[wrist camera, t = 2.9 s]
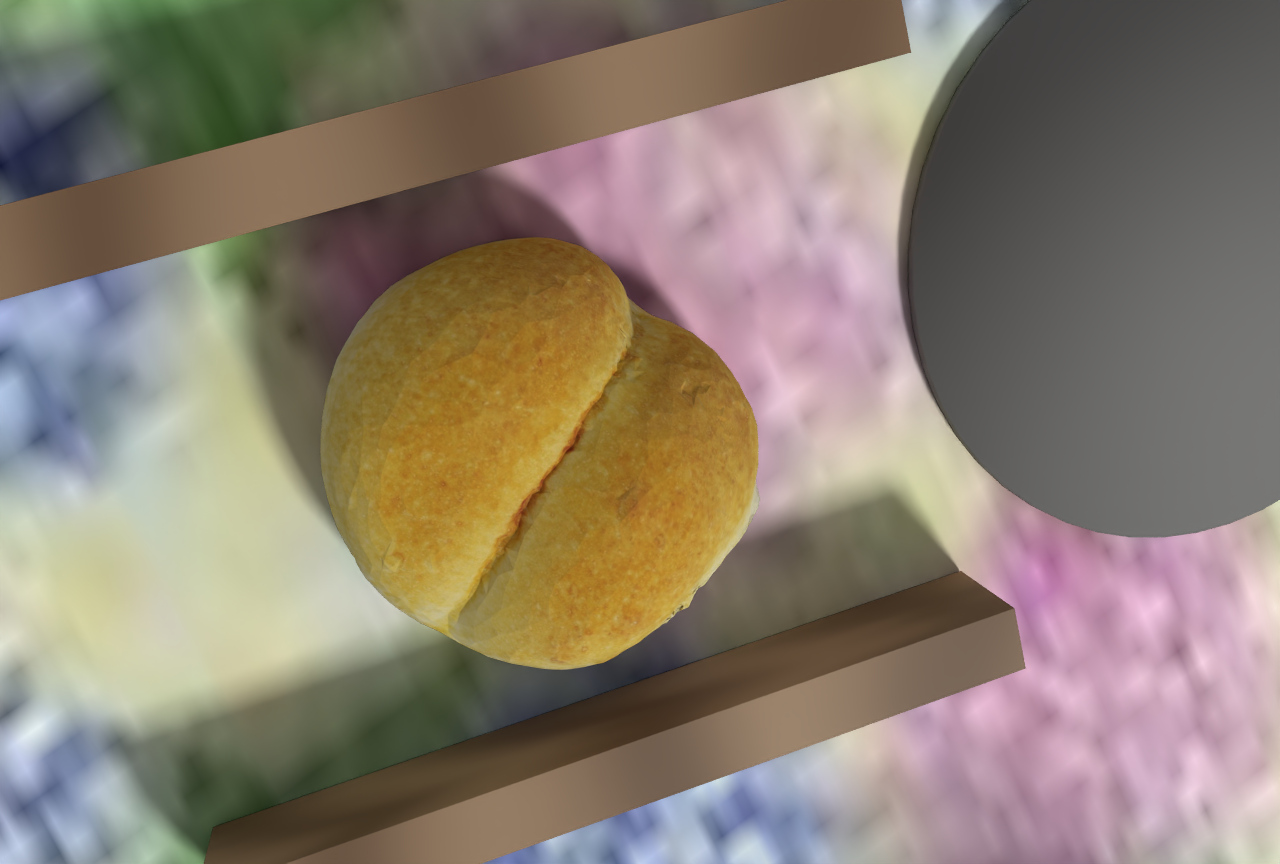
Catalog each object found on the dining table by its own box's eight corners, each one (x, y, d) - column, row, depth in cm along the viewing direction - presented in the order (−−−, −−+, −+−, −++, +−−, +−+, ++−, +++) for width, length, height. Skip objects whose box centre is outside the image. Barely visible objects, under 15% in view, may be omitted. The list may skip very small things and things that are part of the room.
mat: (968, 608, 28) (974, 612, 28) (850, 15, 25) (856, 13, 24) (1458, 437, 30) (1468, 440, 30) (1417, -135, 27) (1428, -139, 26)
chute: (236, 884, 26) (221, 956, 24) (-37, 221, 22) (-88, 228, 20) (972, 626, 28) (1025, 668, 26) (846, -10, 24) (896, -29, 22)
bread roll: (472, 163, 24) (489, 162, 20) (790, 415, 27) (859, 456, 23) (232, 483, 24) (204, 541, 20) (570, 700, 27) (602, 787, 23)
